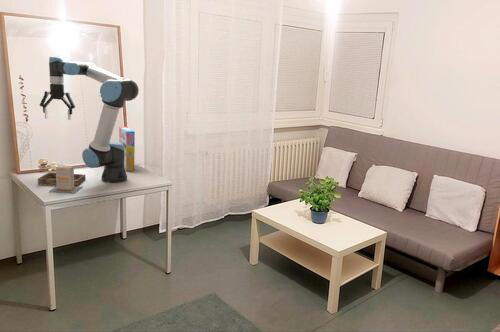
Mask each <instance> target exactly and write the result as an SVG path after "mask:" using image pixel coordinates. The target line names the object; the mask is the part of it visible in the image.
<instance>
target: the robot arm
mask: <svg viewBox="0 0 500 332" xmlns="http://www.w3.org/2000/svg"><path fill="white" fill-rule="evenodd" d="M48 67H49V68H48V69H49V83H50V84H49V91H48V90H45V91H44V94H43V96H42V99H41V101H40V103H39V106H40V107H42V112H43V114H44V119H46V120H47V119H48V118H49V109H48V105H50V103H51V102H52V101H53V100H58V101H59V100H61V101H62V102H63V104H64V105H66V107H67V121H71V120H72V115H73V109H76V106H75V105H76V104H75V103H74V102H73V101H74V100H73V99H72V97H71V93H70V92H65V85H64V80H65V79H64V75H67V76H86V77H88V78H90V79H92V80H95V81H97V82H98V83H101V86H100V88H99V94H100V98H101V102H102V103H103V106H102V109H101V113H100V116H99V120H98V123H97V128H96V130H95V134H94V138H93V140H92V141H90V142H89V145H88V148H85V149H84V150H82V153H81V156H82V161H83V163H84V164H85V166H87V167H88V168H90V169H94V168H100V167H101V168H102V167H103V171H102V174H101V181H103V182H104V183H105V182H106V183H112V184H113V183H122V182H123V183H124V182H127V181H128V174H127V171H126V170H125V168H124V151H125V150H124V145H123V144H121V143H119V142H113V141H112V142H111V138H112V135H113V132H114V128H115V125H116V122H117V119H118V116H119V112H120V109H122V108H123V107H124V105H125V102H129V101H133V100H135V99H136V98H137V97H138V95H139V86H138V84H137V83H136V82H135V81H134V80H132V79H129V78H127V77H120V76H118V75H116V74H113V73H112V72H110V71H106V70H104V69H102V68H100V67H97V66H96V65H95V64H94V62H89V61H86V62H84V61H83V62H82V61H68V60H66V61H64V59H63V57H60V56H59V57H57V56H50V57H49V59H48ZM49 95H50V97H49V98H48V96H49ZM65 97H66V98H67V99H66V98H65ZM47 98H48V99H47ZM46 100H47V101H46Z"/></svg>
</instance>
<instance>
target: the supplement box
mask: <svg viewBox="0 0 500 332" xmlns="http://www.w3.org/2000/svg"><path fill="white" fill-rule="evenodd" d="M74 170H75V168H74V165H63V164H59V165H56V166H55V173H56V185H57V190H70V191H71V190H73V189H74V174H75V171H74ZM56 185H55V186H56Z"/></svg>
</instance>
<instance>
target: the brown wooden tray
mask: <svg viewBox="0 0 500 332" xmlns="http://www.w3.org/2000/svg"><path fill="white" fill-rule="evenodd" d="M86 178H87V177H86V174H81V173H79V174H78V173H74V186H77V187H80V185H82V184H83V183H84V182H85V181H86ZM37 184H38V185H41V186H55V187H56V186H57V185H56V172H47V173H45V174H43V175H42V176H39V177H38V178H37Z"/></svg>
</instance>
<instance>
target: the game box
mask: <svg viewBox="0 0 500 332" xmlns="http://www.w3.org/2000/svg"><path fill="white" fill-rule="evenodd" d="M135 132H136V131H135V130H133V129H131V128H130V127H128V126H119V127H118V143H121V144H123V145H124V150H125V151H124V168H125V171H126V172H135V140H136V139H135Z"/></svg>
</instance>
